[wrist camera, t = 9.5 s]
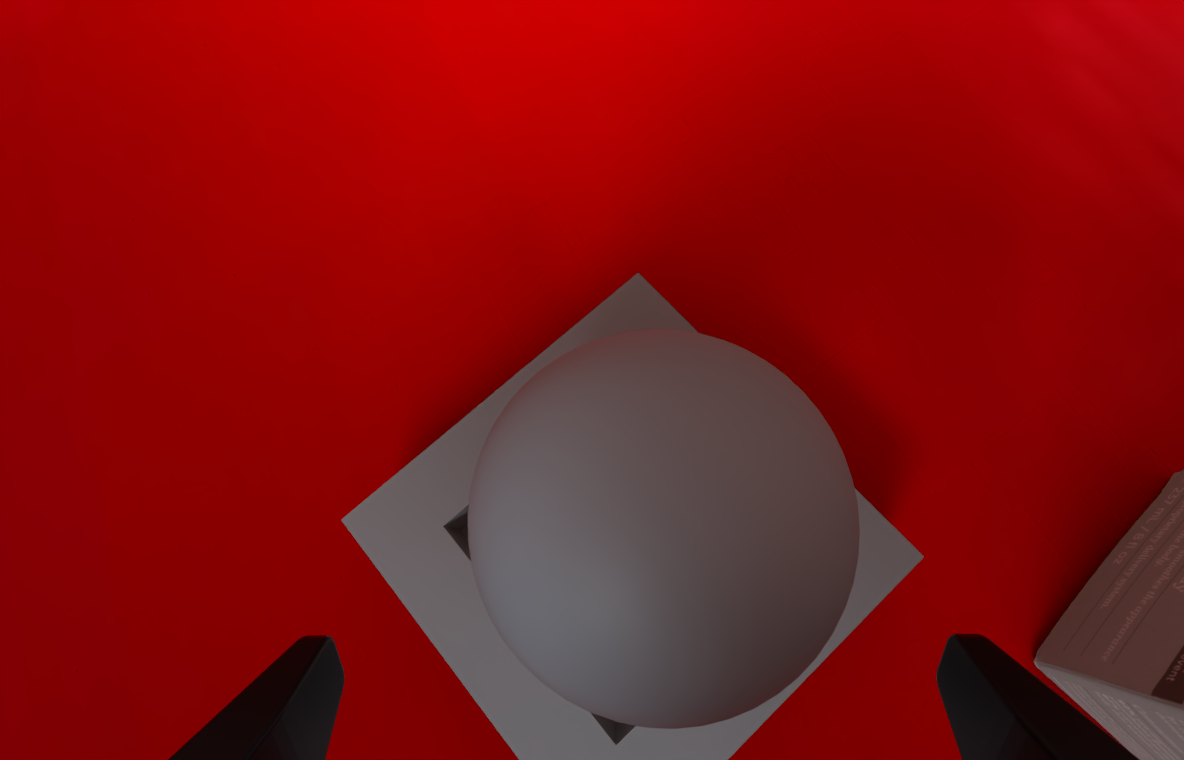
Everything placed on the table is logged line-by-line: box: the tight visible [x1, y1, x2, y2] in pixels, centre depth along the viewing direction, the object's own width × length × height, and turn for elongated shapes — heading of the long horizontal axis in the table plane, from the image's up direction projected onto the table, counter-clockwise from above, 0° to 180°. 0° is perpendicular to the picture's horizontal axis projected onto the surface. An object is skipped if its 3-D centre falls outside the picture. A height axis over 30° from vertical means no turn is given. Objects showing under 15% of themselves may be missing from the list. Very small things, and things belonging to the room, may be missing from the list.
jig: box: [342, 273, 924, 760], centre depth 18 cm, size 11×11×3 cm
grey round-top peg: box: [468, 329, 860, 729], centre depth 12 cm, size 5×5×13 cm
